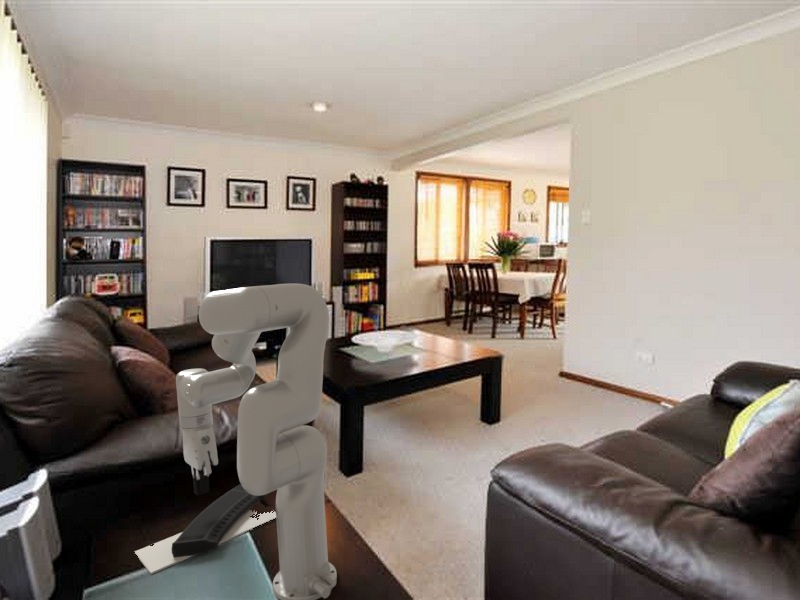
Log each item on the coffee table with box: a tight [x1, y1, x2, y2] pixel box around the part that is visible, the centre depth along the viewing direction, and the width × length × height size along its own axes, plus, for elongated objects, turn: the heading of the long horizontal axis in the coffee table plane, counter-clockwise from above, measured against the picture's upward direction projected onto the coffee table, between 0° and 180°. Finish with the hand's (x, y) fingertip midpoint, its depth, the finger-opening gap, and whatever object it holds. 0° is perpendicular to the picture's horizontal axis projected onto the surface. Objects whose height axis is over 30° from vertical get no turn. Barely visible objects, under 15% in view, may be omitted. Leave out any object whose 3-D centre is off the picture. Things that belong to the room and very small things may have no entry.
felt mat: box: [134, 509, 276, 575], centre depth 118 cm, size 12×31×1 cm, turn 134°
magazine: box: [172, 483, 266, 558], centre depth 121 cm, size 17×3×30 cm
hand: (202, 492), depth 120 cm, fingers closed
